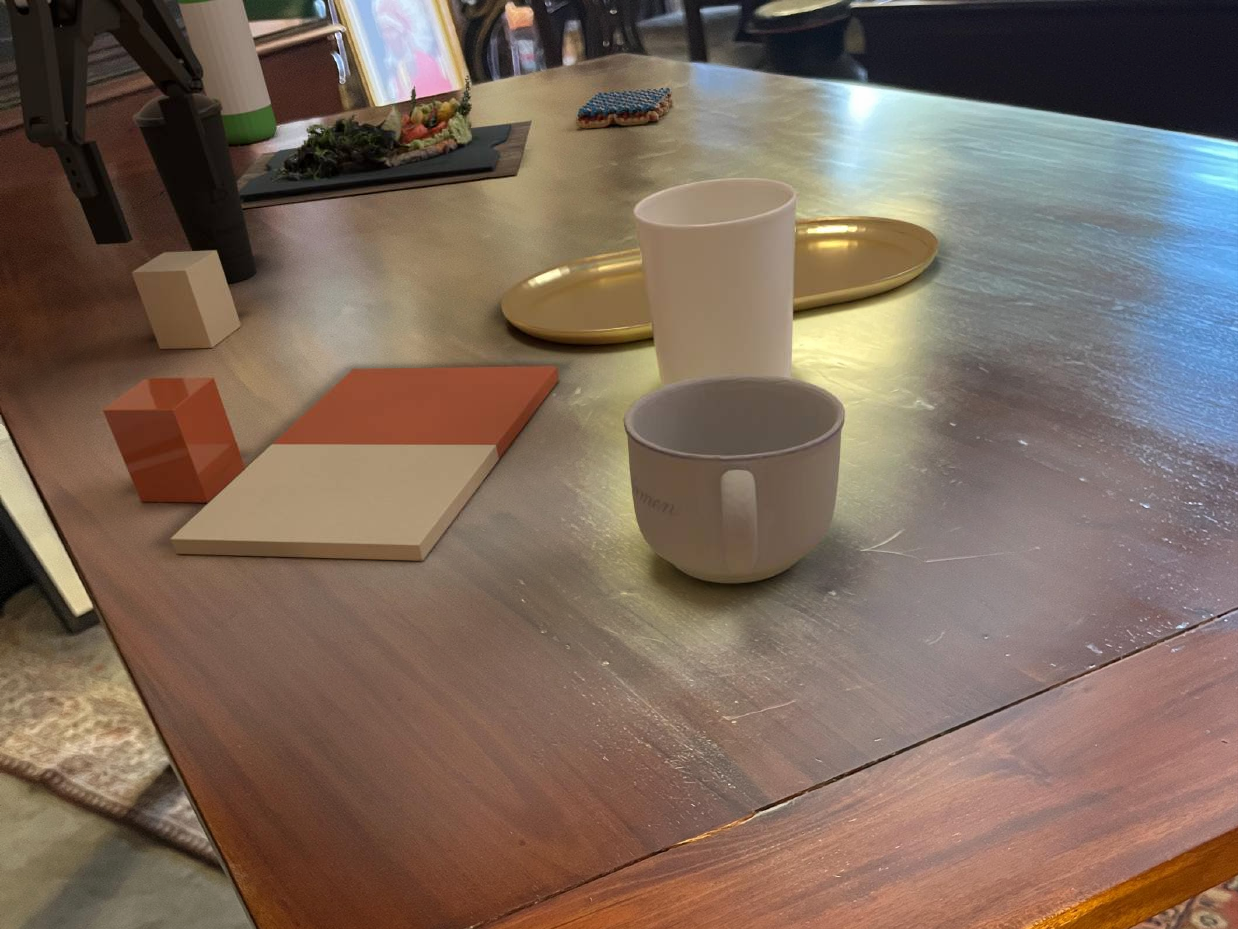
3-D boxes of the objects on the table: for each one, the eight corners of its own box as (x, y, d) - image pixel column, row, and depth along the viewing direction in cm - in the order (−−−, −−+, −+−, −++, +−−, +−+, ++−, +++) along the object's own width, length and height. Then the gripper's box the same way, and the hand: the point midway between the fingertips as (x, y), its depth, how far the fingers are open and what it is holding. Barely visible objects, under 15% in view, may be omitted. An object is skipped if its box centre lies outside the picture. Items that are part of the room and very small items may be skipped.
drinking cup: (173, 286, 114) (82, 30, 100) (235, 260, 118) (156, 12, 104) (225, 293, 110) (139, 30, 96) (287, 267, 114) (213, 11, 101)
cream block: (159, 349, 100) (131, 272, 96) (190, 327, 104) (163, 252, 100) (212, 348, 99) (185, 270, 95) (241, 326, 102) (216, 250, 98)
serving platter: (491, 294, 102) (488, 274, 101) (887, 223, 105) (888, 203, 104) (521, 370, 88) (517, 348, 87) (976, 285, 91) (977, 263, 90)
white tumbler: (794, 430, 75) (789, 219, 67) (641, 434, 77) (618, 230, 69) (807, 369, 82) (804, 172, 74) (667, 375, 84) (648, 183, 76)
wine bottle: (220, 150, 158) (129, -148, 138) (222, 138, 164) (134, -150, 143) (279, 140, 159) (197, -158, 139) (279, 128, 165) (200, -159, 144)
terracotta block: (140, 502, 78) (102, 410, 74) (180, 467, 81) (145, 378, 77) (208, 503, 77) (173, 409, 72) (245, 468, 80) (214, 377, 76)
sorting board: (175, 554, 72) (169, 538, 71) (356, 382, 90) (352, 368, 89) (423, 561, 68) (418, 544, 67) (559, 379, 86) (557, 365, 85)
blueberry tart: (677, 104, 149) (675, 85, 148) (658, 125, 142) (656, 105, 141) (596, 110, 152) (594, 91, 151) (573, 131, 144) (571, 111, 143)
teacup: (663, 508, 69) (648, 367, 64) (853, 508, 67) (854, 361, 62) (607, 640, 60) (583, 486, 54) (827, 644, 57) (825, 485, 52)
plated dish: (531, 119, 152) (520, 50, 147) (522, 179, 131) (509, 101, 126) (260, 157, 154) (240, 91, 149) (209, 222, 133) (184, 147, 128)
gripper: (-36, -120, 71) (115, 265, 85) (181, -158, 88) (276, 168, 103) (-137, -104, 73) (27, 270, 87) (94, -144, 90) (200, 173, 105)
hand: (162, 215), depth 95 cm, fingers open, 13 cm apart
